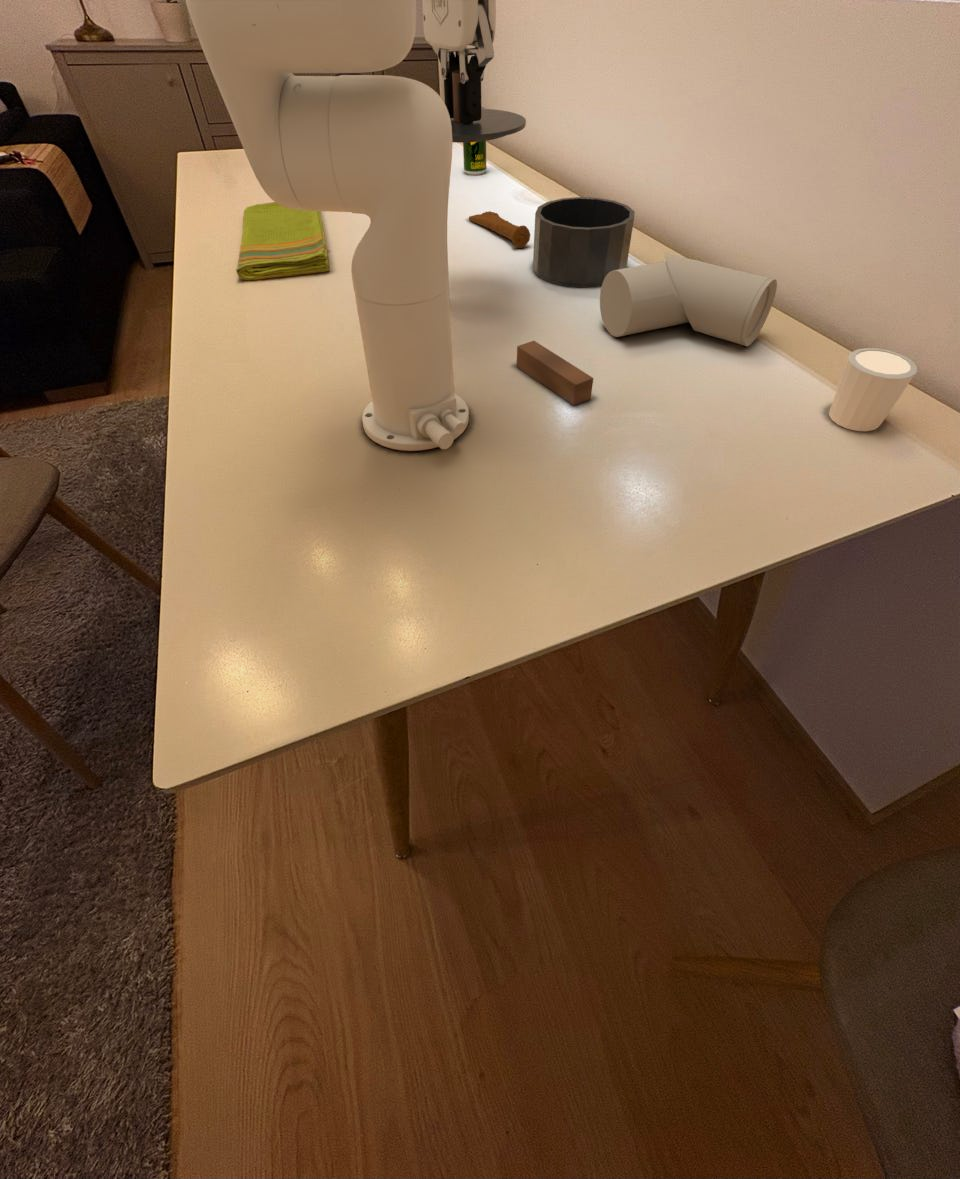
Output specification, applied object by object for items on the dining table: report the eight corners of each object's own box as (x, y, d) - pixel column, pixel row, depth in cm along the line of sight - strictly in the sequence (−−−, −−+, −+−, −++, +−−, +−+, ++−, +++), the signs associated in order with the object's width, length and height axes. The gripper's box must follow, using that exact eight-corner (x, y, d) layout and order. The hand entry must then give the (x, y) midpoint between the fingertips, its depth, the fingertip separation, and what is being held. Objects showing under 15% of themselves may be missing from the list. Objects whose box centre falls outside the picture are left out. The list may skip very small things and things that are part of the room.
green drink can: (459, 171, 143) (457, 107, 134) (479, 167, 145) (479, 104, 136) (470, 176, 140) (468, 111, 131) (490, 173, 142) (490, 109, 133)
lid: (550, 133, 79) (554, 73, 74) (442, 153, 73) (438, 88, 68) (481, 113, 88) (481, 57, 84) (380, 128, 82) (374, 70, 78)
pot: (645, 272, 101) (655, 215, 94) (572, 295, 95) (578, 236, 89) (584, 245, 109) (590, 191, 103) (515, 264, 104) (516, 208, 98)
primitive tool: (467, 219, 120) (467, 199, 117) (491, 215, 121) (492, 195, 119) (513, 250, 108) (514, 229, 106) (540, 245, 110) (541, 224, 107)
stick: (590, 398, 75) (593, 378, 72) (573, 405, 74) (575, 384, 71) (532, 360, 81) (534, 340, 79) (516, 366, 80) (516, 345, 78)
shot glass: (834, 396, 74) (860, 341, 69) (893, 415, 71) (925, 358, 66) (814, 420, 71) (840, 364, 65) (876, 441, 68) (908, 384, 62)
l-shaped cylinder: (704, 285, 94) (590, 307, 89) (733, 215, 84) (608, 235, 80) (769, 359, 86) (647, 387, 81) (809, 291, 76) (674, 317, 72)
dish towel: (238, 283, 100) (232, 262, 98) (244, 215, 124) (239, 197, 121) (331, 273, 103) (327, 252, 100) (319, 208, 126) (316, 191, 123)
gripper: (393, -88, 69) (409, 112, 83) (467, -93, 60) (472, 134, 74) (448, -89, 72) (455, 106, 86) (528, -93, 63) (522, 126, 76)
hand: (463, 117), depth 79 cm, fingers closed on lid, 2 cm apart
